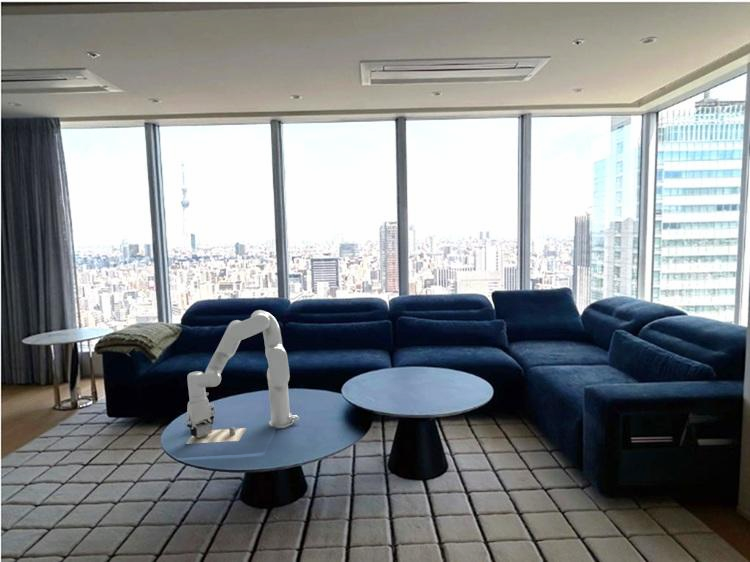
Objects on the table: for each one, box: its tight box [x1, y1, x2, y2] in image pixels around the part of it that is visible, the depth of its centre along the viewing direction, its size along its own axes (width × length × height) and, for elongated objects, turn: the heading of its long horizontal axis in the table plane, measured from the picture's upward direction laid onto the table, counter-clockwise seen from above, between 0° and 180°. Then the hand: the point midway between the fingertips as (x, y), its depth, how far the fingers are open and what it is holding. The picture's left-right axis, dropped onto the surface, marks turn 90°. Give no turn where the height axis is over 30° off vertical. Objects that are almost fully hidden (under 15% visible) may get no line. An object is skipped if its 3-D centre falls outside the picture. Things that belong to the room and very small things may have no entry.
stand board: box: [185, 425, 247, 445], centre depth 223 cm, size 25×14×7 cm, turn 90°
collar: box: [194, 420, 213, 438], centre depth 223 cm, size 7×7×4 cm
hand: (201, 432), depth 223 cm, fingers closed on collar, 7 cm apart
